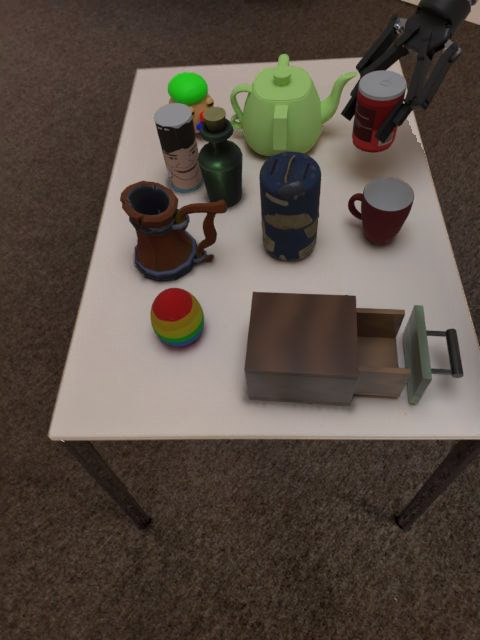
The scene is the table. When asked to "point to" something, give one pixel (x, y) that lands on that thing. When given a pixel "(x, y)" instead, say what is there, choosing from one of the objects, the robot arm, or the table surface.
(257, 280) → the table surface
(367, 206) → the mug
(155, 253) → the mug
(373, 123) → the canned food
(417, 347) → the drawer
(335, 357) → the cabinet
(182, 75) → the figurine
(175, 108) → the printed cylinder container
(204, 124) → the potion bottle
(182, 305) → the decorative egg
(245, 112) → the teapot
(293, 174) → the canister
